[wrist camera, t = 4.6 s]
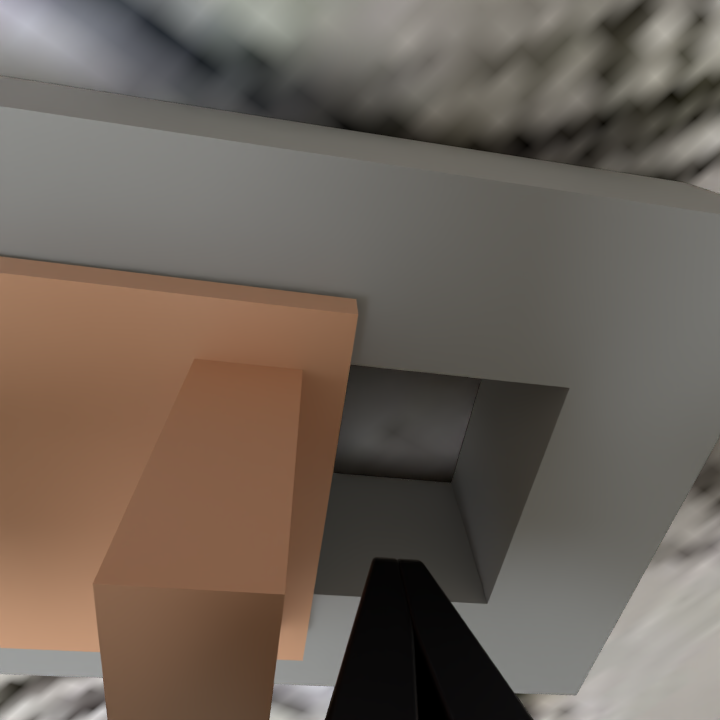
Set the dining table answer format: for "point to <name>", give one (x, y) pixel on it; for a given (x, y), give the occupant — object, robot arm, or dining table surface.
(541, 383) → the socket
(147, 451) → the shutter
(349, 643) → the robot arm
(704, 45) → the dining table surface
